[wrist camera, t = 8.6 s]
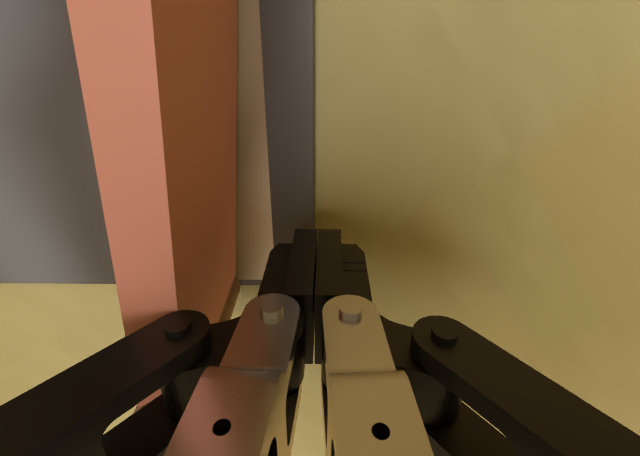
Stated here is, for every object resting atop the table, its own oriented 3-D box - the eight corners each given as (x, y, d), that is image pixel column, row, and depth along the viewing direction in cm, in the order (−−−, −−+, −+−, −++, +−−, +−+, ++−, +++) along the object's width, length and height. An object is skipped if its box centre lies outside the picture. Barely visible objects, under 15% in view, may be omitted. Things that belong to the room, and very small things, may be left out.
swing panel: (185, -40, 10) (2, -142, 4) (244, -32, 10) (143, -122, 4) (201, 298, 15) (129, 454, 10) (240, 302, 15) (191, 459, 10)
